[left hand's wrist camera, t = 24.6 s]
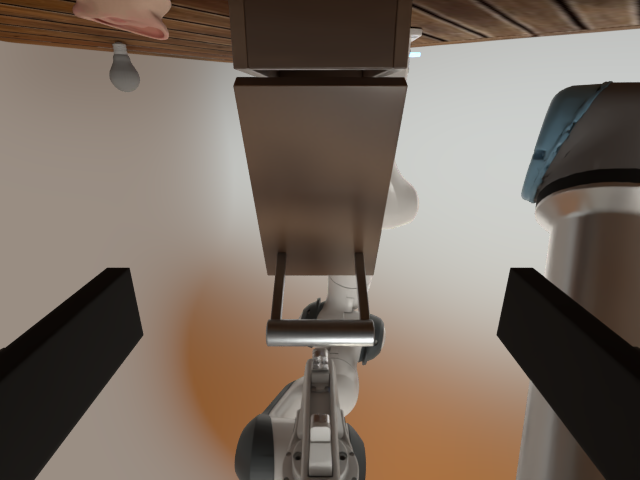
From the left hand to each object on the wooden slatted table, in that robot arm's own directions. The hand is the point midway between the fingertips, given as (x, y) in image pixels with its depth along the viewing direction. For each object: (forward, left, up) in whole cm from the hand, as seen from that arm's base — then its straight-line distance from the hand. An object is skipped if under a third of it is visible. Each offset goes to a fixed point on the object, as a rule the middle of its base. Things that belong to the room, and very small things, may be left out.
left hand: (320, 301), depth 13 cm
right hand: (-14, +12, +20) cm, 27 cm away
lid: (-11, +9, 0) cm, 15 cm away
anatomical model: (-15, +43, -19) cm, 50 cm away
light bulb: (-32, +84, -19) cm, 91 cm away
